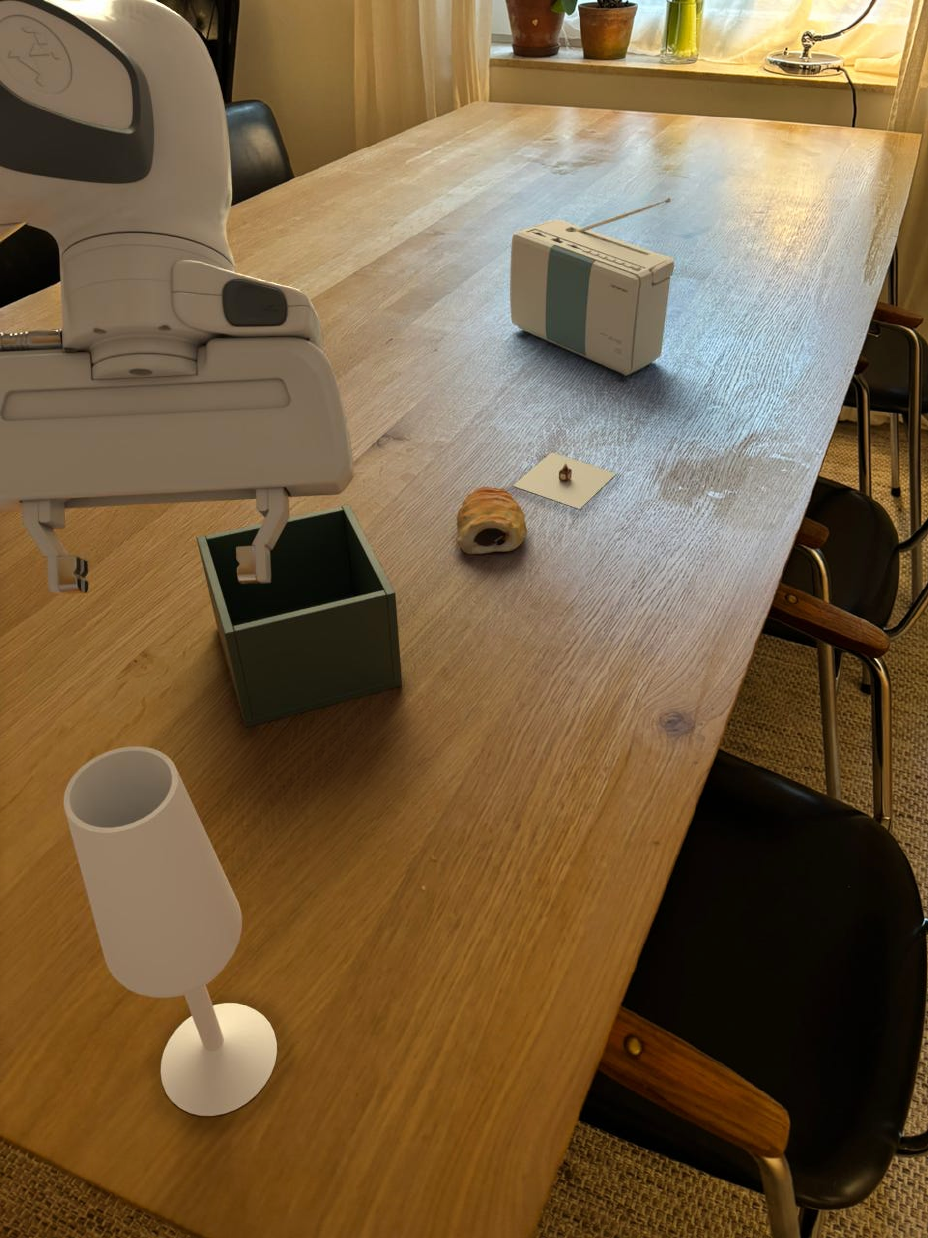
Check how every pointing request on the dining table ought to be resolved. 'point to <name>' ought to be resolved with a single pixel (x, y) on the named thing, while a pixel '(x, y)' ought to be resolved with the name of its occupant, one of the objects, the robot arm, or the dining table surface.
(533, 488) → the beige flat slab
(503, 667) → the dining table surface
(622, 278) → the radio
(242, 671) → the bin
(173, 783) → the champagne flute
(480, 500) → the pastry
